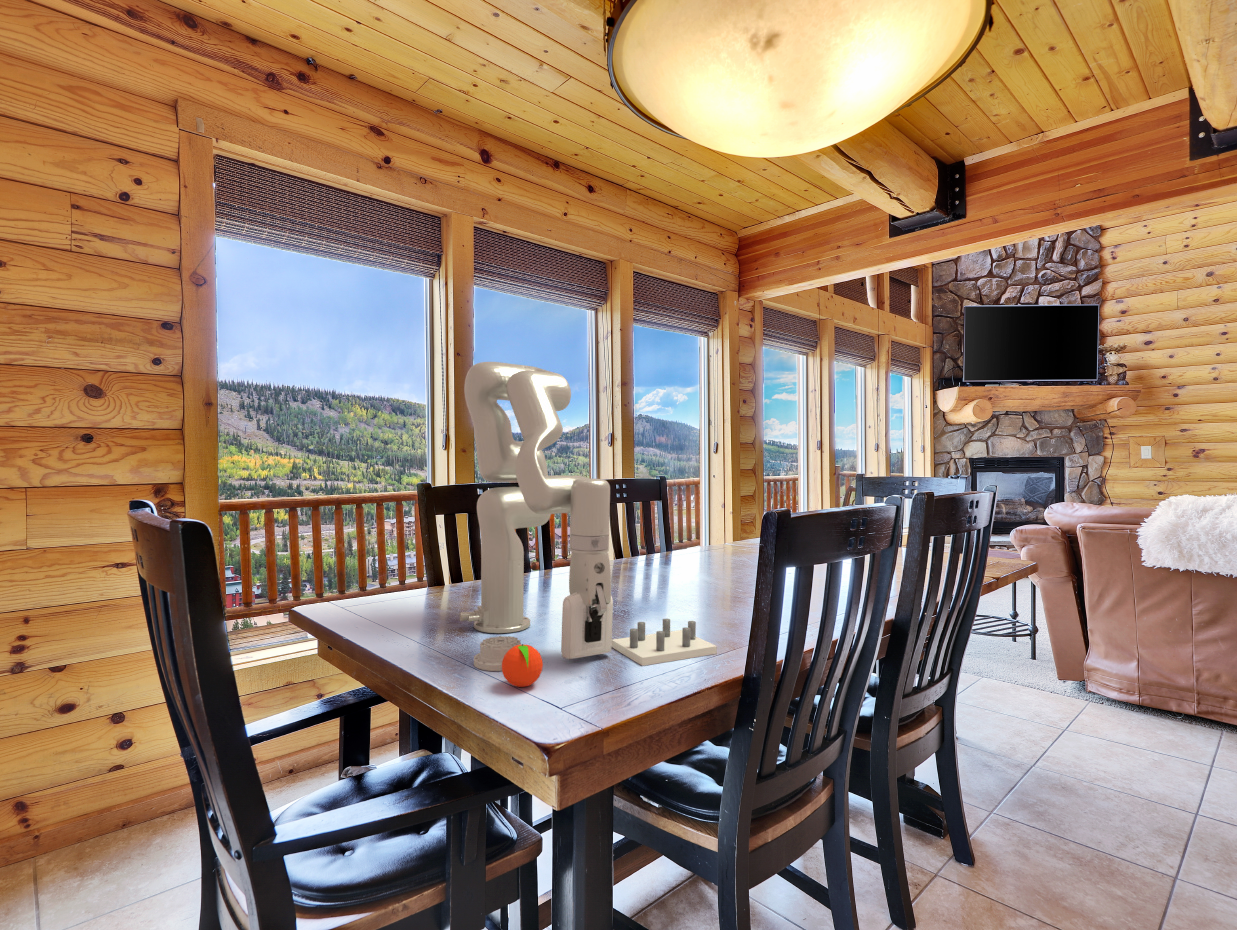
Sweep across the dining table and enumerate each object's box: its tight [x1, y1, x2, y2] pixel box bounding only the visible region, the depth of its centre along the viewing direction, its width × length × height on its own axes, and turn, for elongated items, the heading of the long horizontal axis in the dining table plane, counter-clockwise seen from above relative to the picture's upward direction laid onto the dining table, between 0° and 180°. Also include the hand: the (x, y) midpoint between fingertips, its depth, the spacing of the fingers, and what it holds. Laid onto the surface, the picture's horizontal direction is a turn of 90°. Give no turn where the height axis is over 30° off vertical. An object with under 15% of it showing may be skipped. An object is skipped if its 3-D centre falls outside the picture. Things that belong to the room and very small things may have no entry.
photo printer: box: [560, 592, 614, 660], centre depth 124 cm, size 10×4×12 cm, turn 123°
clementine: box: [501, 643, 544, 688], centre depth 110 cm, size 8×7×7 cm
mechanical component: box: [473, 635, 522, 672], centre depth 122 cm, size 10×4×10 cm
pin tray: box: [611, 618, 718, 667], centre depth 130 cm, size 17×13×5 cm
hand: (587, 636), depth 124 cm, fingers closed on photo printer, 4 cm apart
